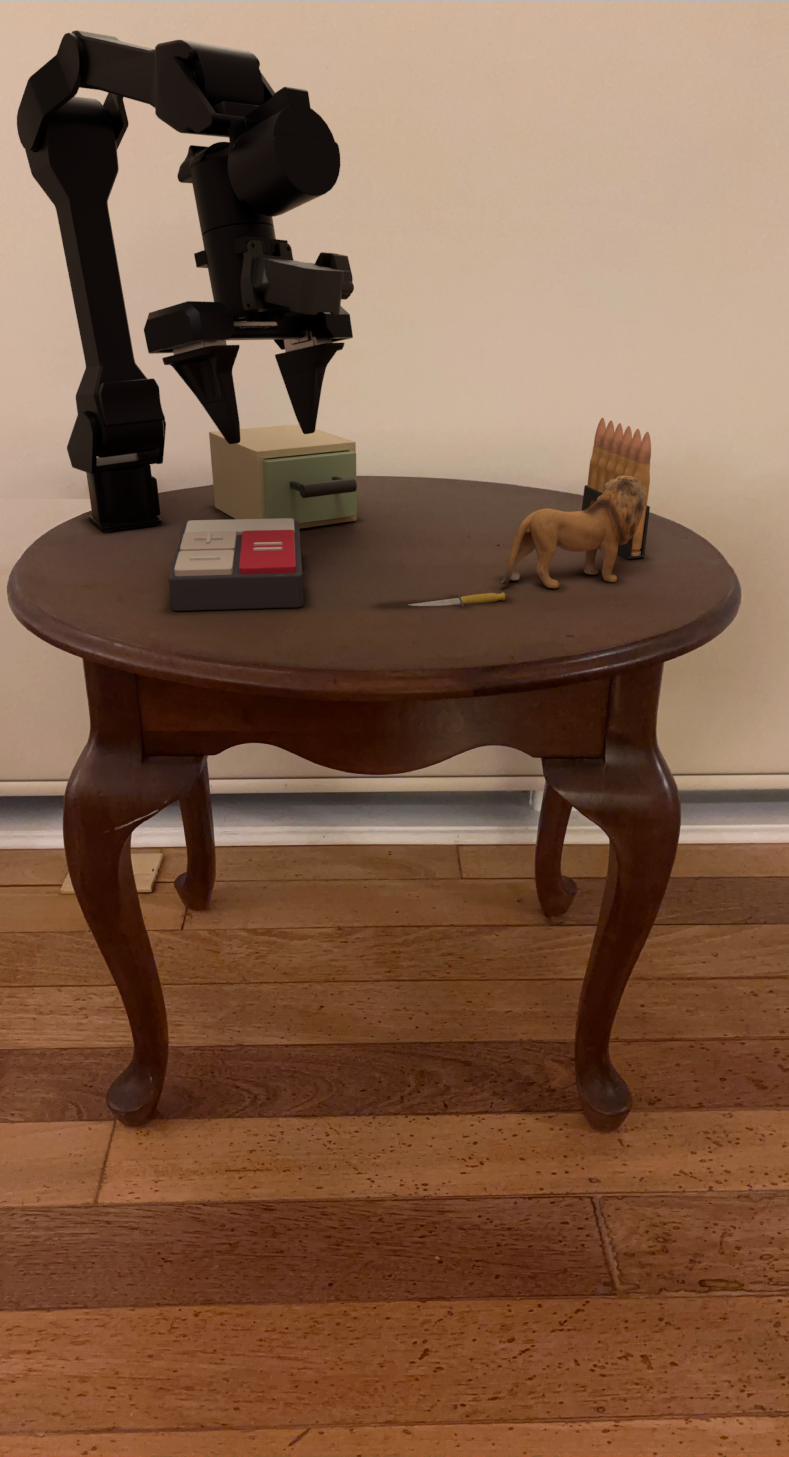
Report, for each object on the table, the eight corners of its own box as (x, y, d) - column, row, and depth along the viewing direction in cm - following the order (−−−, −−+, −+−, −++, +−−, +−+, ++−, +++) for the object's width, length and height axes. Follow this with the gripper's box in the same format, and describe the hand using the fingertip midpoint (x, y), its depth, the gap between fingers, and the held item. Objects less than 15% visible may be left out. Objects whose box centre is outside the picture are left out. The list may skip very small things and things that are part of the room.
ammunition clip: (644, 558, 92) (661, 432, 86) (628, 559, 91) (643, 433, 86) (593, 531, 101) (606, 415, 95) (578, 532, 100) (589, 416, 95)
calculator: (166, 569, 75) (182, 514, 88) (172, 618, 77) (187, 557, 90) (302, 566, 76) (298, 511, 89) (304, 614, 78) (300, 554, 91)
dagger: (386, 611, 78) (382, 598, 79) (386, 620, 78) (382, 607, 80) (509, 597, 79) (502, 585, 81) (508, 606, 80) (502, 594, 81)
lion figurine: (614, 562, 90) (625, 468, 86) (650, 577, 86) (664, 479, 82) (485, 582, 85) (490, 482, 81) (517, 599, 80) (524, 495, 76)
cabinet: (356, 520, 104) (355, 441, 100) (261, 534, 99) (256, 451, 95) (303, 496, 114) (300, 423, 111) (214, 507, 109) (208, 431, 105)
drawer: (375, 523, 99) (375, 459, 96) (287, 536, 95) (284, 468, 91) (307, 493, 112) (305, 434, 109) (226, 503, 107) (221, 442, 104)
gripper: (223, 192, 61) (266, 437, 66) (389, 216, 75) (414, 417, 80) (118, 233, 68) (164, 453, 72) (288, 249, 82) (317, 432, 86)
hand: (273, 438), depth 78 cm, fingers open, 9 cm apart
